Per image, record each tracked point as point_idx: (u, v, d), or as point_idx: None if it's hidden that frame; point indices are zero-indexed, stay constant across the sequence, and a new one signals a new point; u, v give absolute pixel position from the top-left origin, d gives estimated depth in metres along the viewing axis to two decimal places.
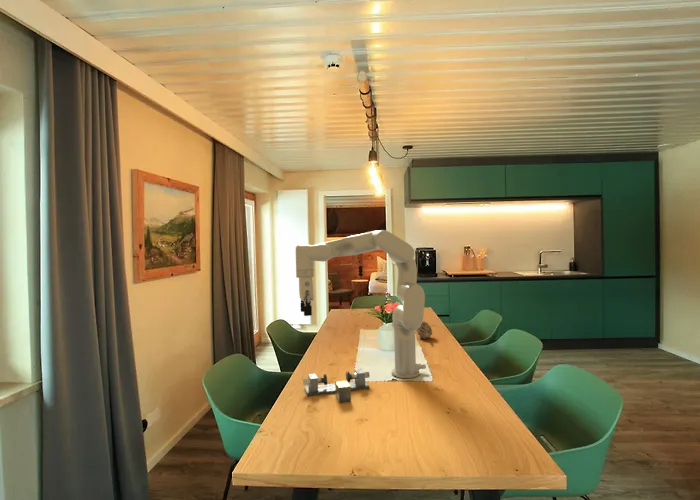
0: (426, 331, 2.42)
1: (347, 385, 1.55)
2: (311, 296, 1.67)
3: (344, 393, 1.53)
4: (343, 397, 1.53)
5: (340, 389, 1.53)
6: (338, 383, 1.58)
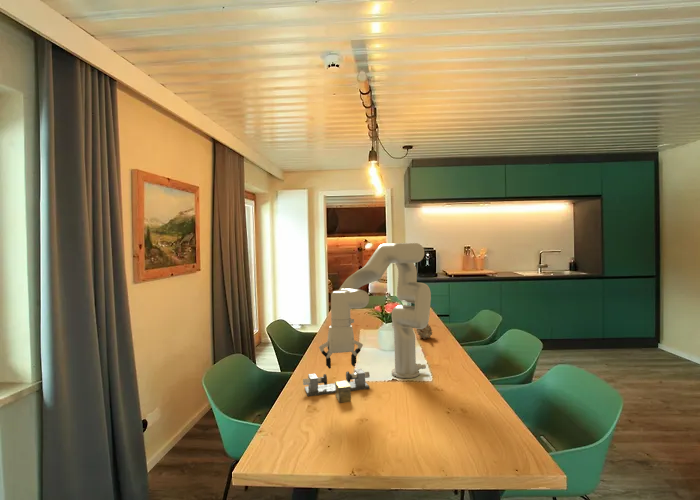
0: (426, 331, 2.42)
1: (347, 385, 1.55)
2: None
3: (344, 393, 1.53)
4: (343, 397, 1.53)
5: (340, 389, 1.53)
6: (338, 383, 1.58)
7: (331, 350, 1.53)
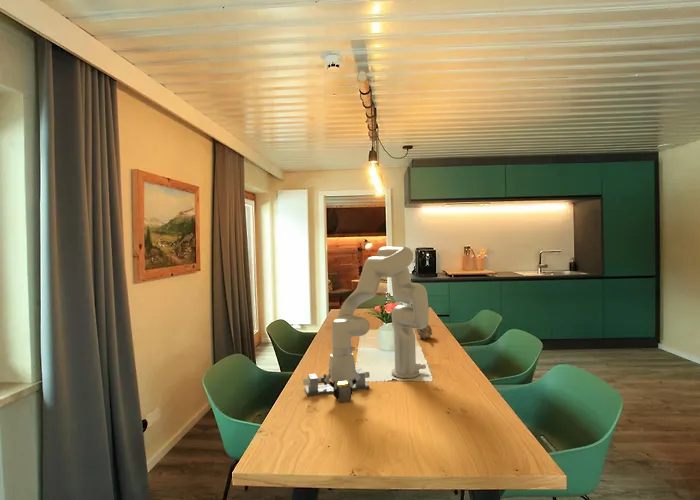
0: (426, 331, 2.42)
1: (347, 385, 1.55)
2: None
3: (344, 393, 1.53)
4: (343, 397, 1.53)
5: (340, 389, 1.53)
6: (338, 383, 1.57)
7: (333, 379, 1.54)
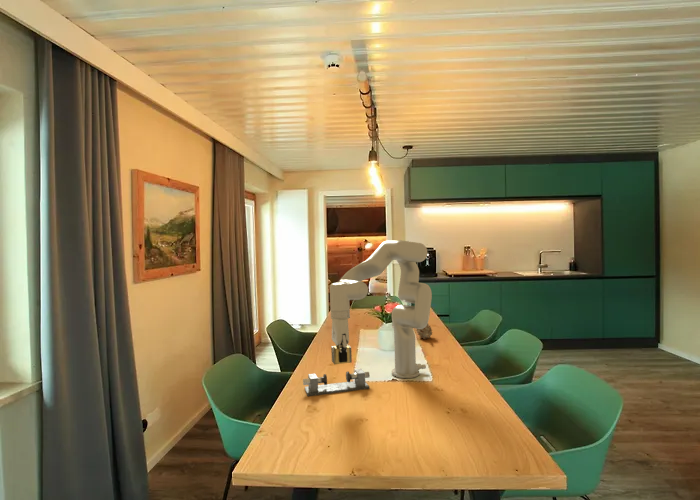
0: (426, 331, 2.42)
1: None
2: None
3: None
4: None
5: None
6: None
7: (348, 341, 1.54)
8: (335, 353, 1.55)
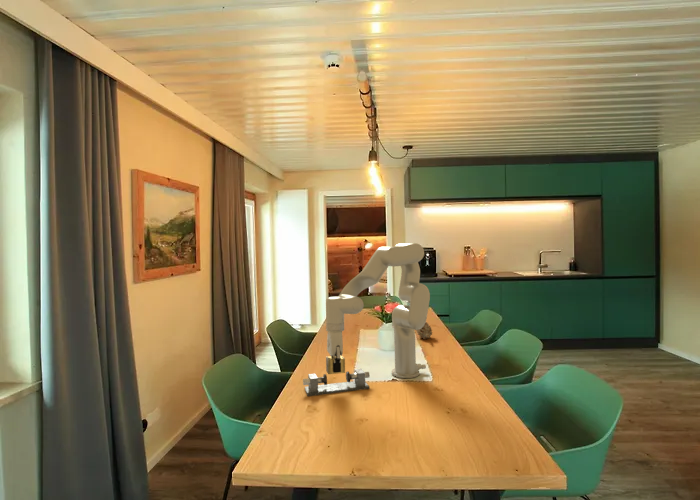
0: (426, 331, 2.42)
1: None
2: None
3: None
4: None
5: None
6: (333, 358, 1.65)
7: None
8: (329, 363, 1.64)
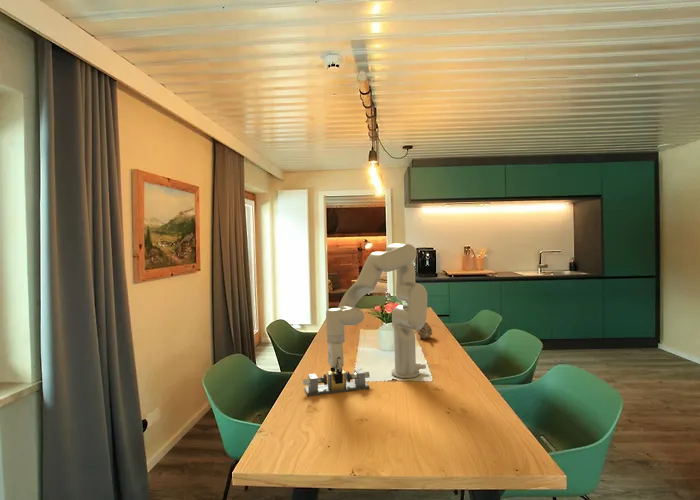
0: (426, 331, 2.42)
1: None
2: None
3: None
4: None
5: None
6: (334, 373, 1.66)
7: (343, 364, 1.64)
8: (330, 378, 1.65)
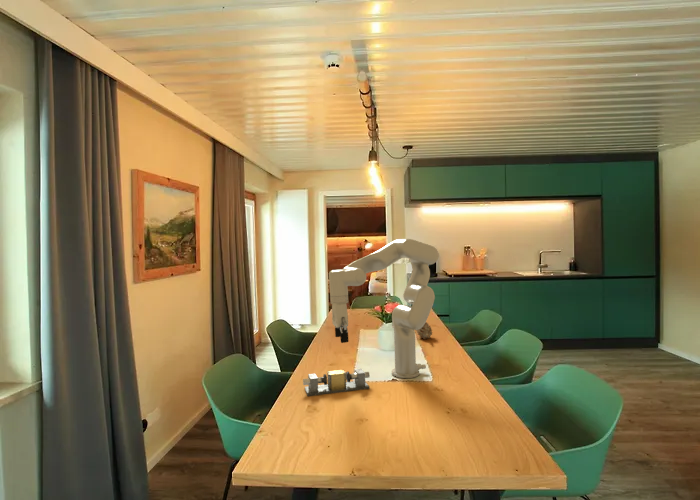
0: (426, 331, 2.42)
1: (340, 370, 1.70)
2: None
3: None
4: None
5: None
6: (334, 373, 1.66)
7: (347, 324, 1.65)
8: (330, 378, 1.65)
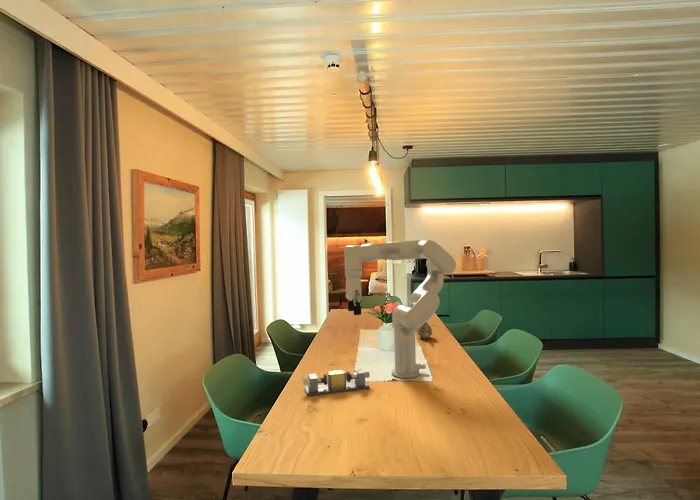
0: (426, 331, 2.42)
1: (340, 370, 1.70)
2: None
3: None
4: None
5: None
6: (334, 373, 1.66)
7: None
8: (330, 378, 1.65)
